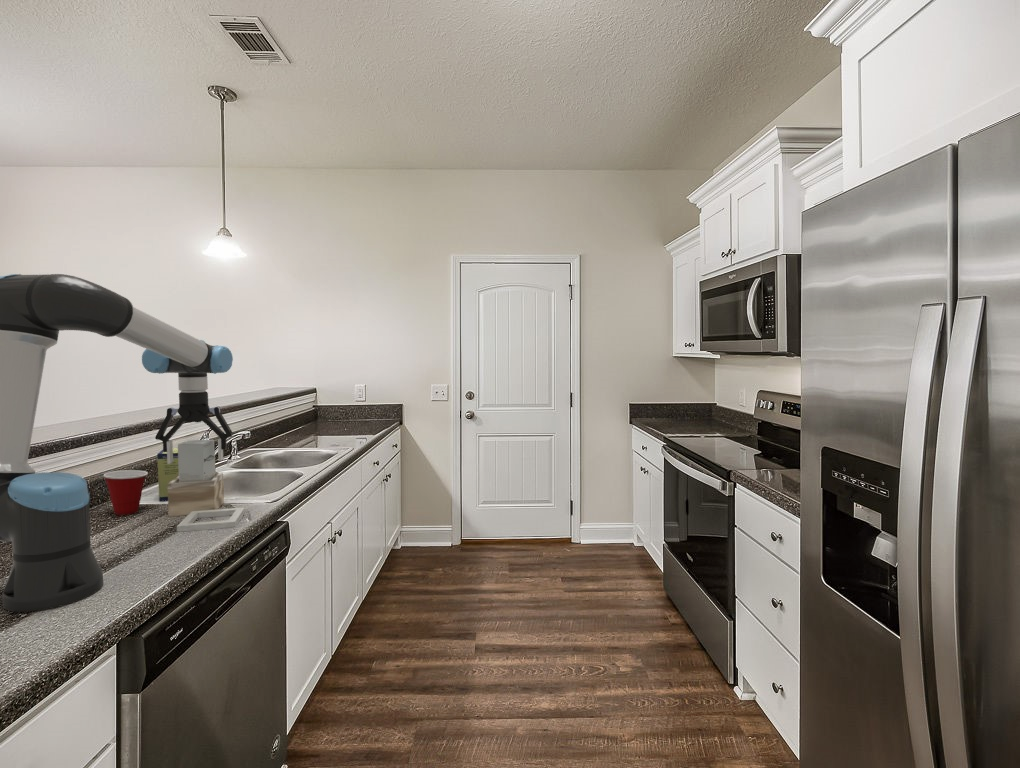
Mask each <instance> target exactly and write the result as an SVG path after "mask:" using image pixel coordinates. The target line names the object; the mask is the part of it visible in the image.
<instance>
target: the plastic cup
mask: <svg viewBox="0 0 1020 768" xmlns="http://www.w3.org/2000/svg"><path fill="white" fill-rule="evenodd" d="M148 474H149V472H148V471H145V470H137V469H128V470H127V469H126V470H124V469H123V470H114V471H109V472H108V471H107V472H105V473H104V474H103V477H104V479H105V483H106V486H107V489H108V494H109V497H110V501H111V504H112V509H113V512H114V514H115V515H117V516H123V515H124V516H125V515H130V514H131V515H132V514H135V513H138V512H139V509H140V504H141V499H142V493H143V487H144V483H145V480H146V478H147V476H148Z"/></svg>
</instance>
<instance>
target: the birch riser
mask: <svg viewBox="0 0 1020 768" xmlns="http://www.w3.org/2000/svg"><path fill="white" fill-rule="evenodd" d="M167 485H168V501H167V507H168V511H167V512H168V517H178V516H188V515H189V514H190V513H191V512H192V511H203V510H217V509H220V508H221V506H222V505H223V504H224V503H225V494H224V493H225V491H224V490H225V489H224V488H225V487H224V472H222V471H221V472H216V473H215V477H214V478H213V479H212V480H211V481H196V482H179V476H178V477H176V478H175V479H174V480H172V481H171V482H170V483H168V484H167Z"/></svg>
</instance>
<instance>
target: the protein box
mask: <svg viewBox="0 0 1020 768" xmlns="http://www.w3.org/2000/svg"><path fill="white" fill-rule="evenodd" d="M215 449H216V448H215V445H214V454H215V455H216V450H215ZM156 455H157V457H156V458H157V459H156V460H157V477H158V482H157V483H158V501H159V502H168V485H167V484H168V483H170V482H171V481H172V480H174V479H175V478H176V477H178V476H179V467H178V447H173V462H172V463H170V464H167V452H164V451H163V449H161V451H159V452H158V453H157V454H156ZM215 473H217V471H216V467H215Z"/></svg>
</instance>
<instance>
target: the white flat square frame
mask: <svg viewBox="0 0 1020 768" xmlns="http://www.w3.org/2000/svg"><path fill="white" fill-rule="evenodd" d="M245 512H246V507H232V508H219V509H217V510H203V511H192V512H191V513H190V514H189V515H186V516H185V517H184V519H182V521H181V522H180V523H178V524H177V526H176V532H177V533H179V532H181V533H182V532H192V531H193V532H194V531H204V530H205V531H207V530H217V529H229V528H236V526H237V525H238V524H239V522H240V520H241V519H242V518H243V516H244V515H245ZM227 516H230V517H229V519H227V520H214V521H203V522H202V521H201V522H195V521H196V520H197V519H201V518H202V519H203V518H212V517H213V518H214V517H215V518H216V517H227Z"/></svg>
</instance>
